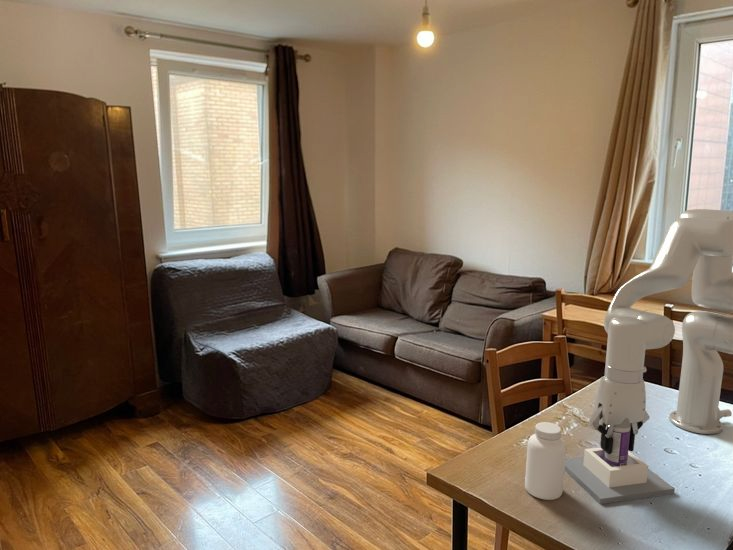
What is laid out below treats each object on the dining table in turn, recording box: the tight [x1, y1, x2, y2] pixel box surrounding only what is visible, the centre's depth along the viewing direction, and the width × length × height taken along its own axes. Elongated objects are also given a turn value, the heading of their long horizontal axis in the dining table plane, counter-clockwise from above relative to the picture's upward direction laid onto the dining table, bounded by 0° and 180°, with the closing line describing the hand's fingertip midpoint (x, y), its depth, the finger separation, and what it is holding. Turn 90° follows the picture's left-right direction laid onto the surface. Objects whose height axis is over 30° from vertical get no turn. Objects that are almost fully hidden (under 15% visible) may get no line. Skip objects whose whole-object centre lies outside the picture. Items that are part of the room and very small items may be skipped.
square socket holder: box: [564, 446, 676, 505], centre depth 124 cm, size 18×16×5 cm
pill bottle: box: [524, 421, 567, 501], centre depth 118 cm, size 8×8×15 cm
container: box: [604, 418, 631, 467], centre depth 122 cm, size 5×5×15 cm
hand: (616, 448), depth 123 cm, fingers closed on container, 4 cm apart
